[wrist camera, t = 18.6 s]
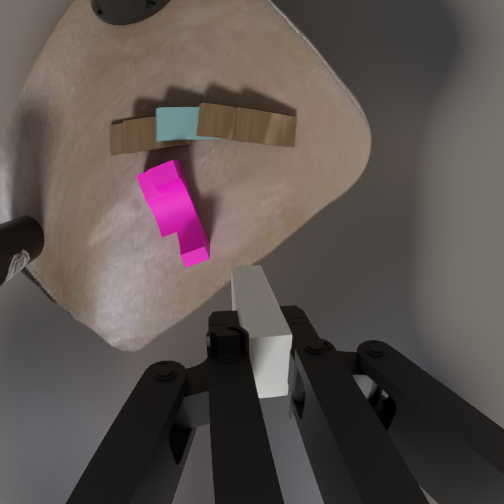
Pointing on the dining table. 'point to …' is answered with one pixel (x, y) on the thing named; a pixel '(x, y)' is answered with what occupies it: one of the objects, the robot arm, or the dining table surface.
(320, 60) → the dining table surface
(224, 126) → the domino
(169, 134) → the domino
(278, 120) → the domino
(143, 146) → the domino
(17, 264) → the water bottle
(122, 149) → the domino
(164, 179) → the toy block
